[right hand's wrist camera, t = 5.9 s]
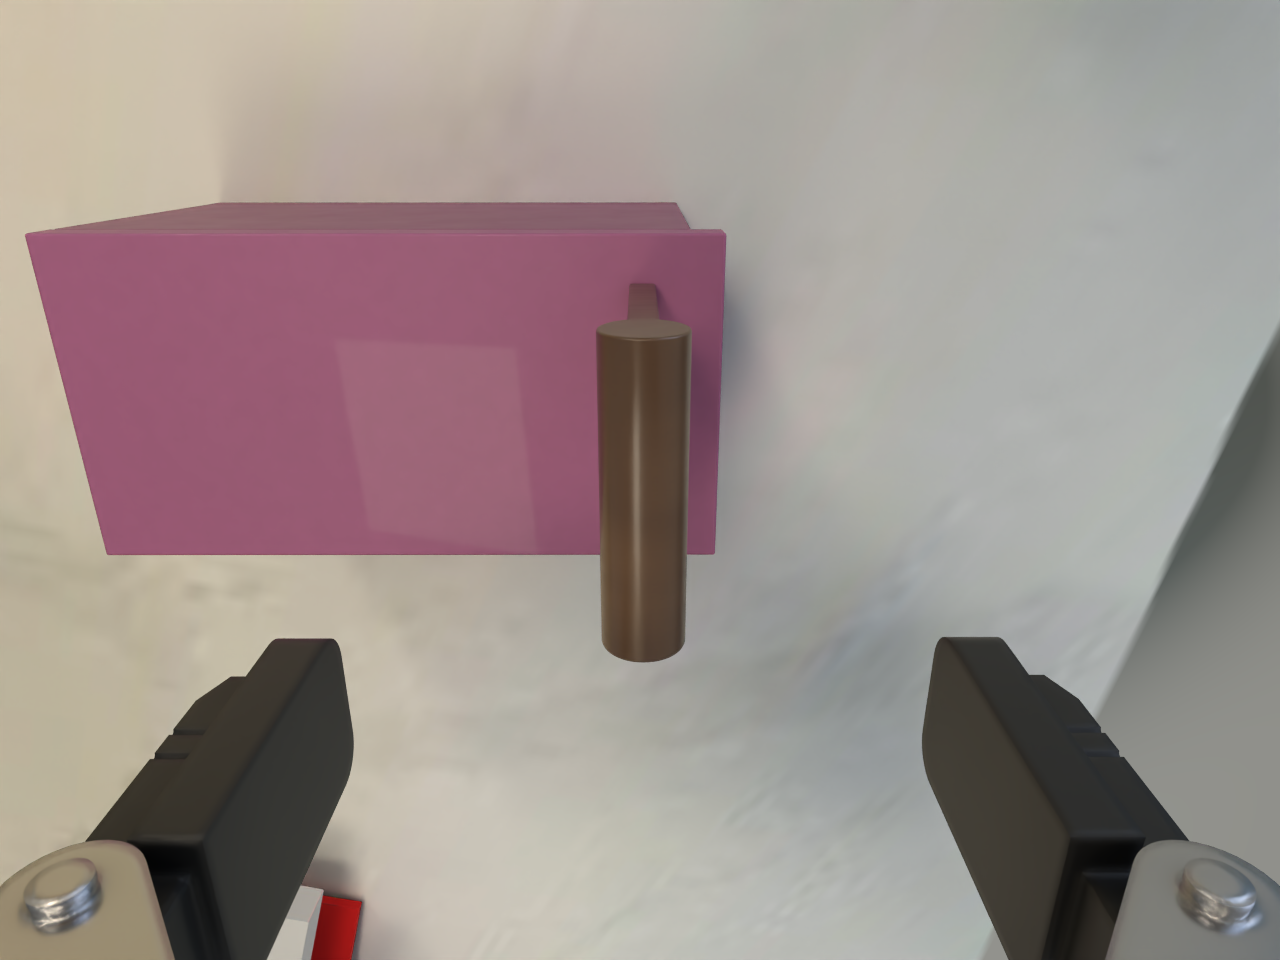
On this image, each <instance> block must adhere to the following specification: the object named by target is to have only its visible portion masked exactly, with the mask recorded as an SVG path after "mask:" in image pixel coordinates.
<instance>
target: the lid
mask: <svg viewBox="0 0 1280 960" xmlns="http://www.w3.org/2000/svg"><path fill="white" fill-rule="evenodd" d="M25 237H26V241H27V245H28V249H29V253H30V257H31V261H32V264H33V268H34V272H35V276H36V280H37V284H38V288H39V292H40V296H41V300H42V303H43V307H44V311H45V315H46V319H47V323H48V327H49V331H50V335H51V338H52V342H53V346H54V350H55V354H56V358H57V362H58V366H59V370H60V373H61V377H62V381H63V385H64V389H65V393H66V397H67V401H68V405H69V408H70V412H71V416H72V420H73V424H74V428H75V432H76V436H77V440H78V444H79V447H80V451H81V455H82V459H83V463H84V467H85V471H86V475H87V479H88V482H89V486H90V490H91V494H92V498H93V502H94V506H95V510H96V514H97V517H98V521H99V525H100V529H101V533H102V537H103V541H104V545H105V549H106V552H107V555H600V570H601V622H602V642H603V645H604V647H605V648H606V649H607V651H608V652H610V653H611V654H612V655H614V656H616V657H618V658H621V659H624V660H627V661H632V662H655V661H660V660H663V659H666V658H669V657H671V656H673V655H675V654H676V653H677V652H678V651H680V649H681V648H682V646H683V645H684V642H685V615H686V571H687V554H714V553H715V535H716V507H717V479H718V451H719V424H720V396H721V368H722V340H723V312H724V285H725V257H726V234H725V233H724V231H723V230H721V229H629V230H45V231H39V232H32V233H27V234H25Z"/></svg>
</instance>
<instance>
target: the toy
mask: <svg viewBox="0 0 1280 960" xmlns="http://www.w3.org/2000/svg"><path fill="white" fill-rule="evenodd" d="M323 892H324V890H323V889H318V888H313V887H307V886H302V885H300V888H299V890H298V892H297V894H296V896H295V899H294V901H293V903H292V905H291V907H290V910H289V912H288V914H287V916H286V919H285V921H284V923H283V925H282V927H281V930H280V932H279V934H278V936H277V938H276V941H275V943H274V945H273V947H272V949H271V952H270V954H269V956H268V958H267V960H351V958H352V953H353V947H354V942H355V936H356V931H357V926H358V920H359V915H360V909H361V904H362V902H360V901H354V900H348V899H341V898H335V897H329V896H323Z"/></svg>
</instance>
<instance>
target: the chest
mask: <svg viewBox="0 0 1280 960" xmlns="http://www.w3.org/2000/svg"><path fill="white" fill-rule="evenodd" d="M629 229H690V227H689V226H688V224H687V222H686V220H685V218H684V217H683V215H682V213H681V211H680V210H679V208H678V206H677V203H215V204H209V205H203V206H197V207H191V208H184V209H178V210H172V211H165V212H159V213H153V214H147V215H140V216H134V217H128V218H121V219H115V220H109V221H103V222H96V223H90V224H84V225H77V226H71V227H65V228H58V229H55V230H629Z"/></svg>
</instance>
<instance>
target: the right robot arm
mask: <svg viewBox="0 0 1280 960" xmlns="http://www.w3.org/2000/svg"><path fill="white" fill-rule="evenodd" d="M353 749H354V739H353V729H352V723H351V716H350V709H349V703H348V696H347V689H346V683H345V676H344V670H343V663H342V656H341V651H340V648H339V645H338V643H337V642H336V641H335V640H334V639H275V640H273V641H272V642H271V643H270V644H269V645H268V647H267V648H266V650H265V651H264V652H263V654H262V655H261V656H260V658H259V659H258V661H257V662H256V663H255V665H254V666H253V667H252V669H251V670H250V671H249V673H248V674H247V676H246V677H230V678H228V679H227V680H225V681H224V682H222V683H221V684H220V685H218V686H217V687H215V688H214V689H212V690H211V691H209V692H208V693H207V694H205V695H204V696H202V697H201V698H199V699H198V700H196V701H195V703H194V704H193V705H192V706H191V708H190V709H189V710H188V712H187V713H186V714H185V715H184V717H183V718H182V719H181V720H180V722H179V723H178V724H177V726H176V727H175V728H174V733H173V735H169V736H168V737H167V738H166V740H165V741H164V742H163V743H162V745H161V746H160V747H159V748H158V750H157V751H156V752H155V758H154V759H150V760H149V761H148V762H147V764H146V765H145V766H144V767H143V769H142V770H141V771H140V773H139V774H138V775H137V776H136V778H135V779H134V780H133V781H132V783H131V784H130V785H129V787H128V788H127V789H126V790H125V792H124V793H123V794H122V795H121V797H120V798H119V799H118V801H117V802H116V803H115V804H114V806H113V807H112V808H111V809H110V811H109V812H108V813H107V815H106V816H105V817H104V818H103V820H102V821H101V822H100V823H99V825H98V826H97V827H96V829H95V830H94V831H93V832H92V834H91V835H90V836H89V837H88V839H87V840H86V841H85V842H83V843H79V844H75V845H71V846H68V847H65V848H62V849H60V850H57V851H54V852H52V853H50V854H48V855H45V856H43V857H41V858H40V859H38V860H36V861H34V862H32V863H30V864H29V865H27V866H26V867H24V868H23V869H21V870H20V871H18V872H17V873H15V874H14V875H13V876H12V877H10V878H9V879H8V880H7V881H5V882H4V883H3V884H2V885H1V886H0V960H267V958H268V956H269V954H270V952H271V949H272V947H273V945H274V943H275V941H276V938H277V936H278V934H279V932H280V930H281V927H282V925H283V923H284V921H285V919H286V916H287V914H288V912H289V910H290V907H291V905H292V903H293V901H294V899H295V896H296V894H297V892H298V890H299V888H300V885H301V883H302V881H303V879H304V877H305V874H306V872H307V870H308V868H309V866H310V863H311V861H312V859H313V857H314V855H315V852H316V850H317V848H318V846H319V844H320V841H321V839H322V837H323V835H324V832H325V830H326V828H327V826H328V824H329V821H330V819H331V817H332V815H333V813H334V810H335V808H336V806H337V804H338V802H339V799H340V797H341V795H342V793H343V791H344V788H345V786H346V784H347V781H348V778H349V775H350V771H351V766H352V760H353ZM922 751H923V760H924V766H925V770H926V774H927V778H928V780H929V783H930V785H931V787H932V790H933V792H934V794H935V796H936V799H937V801H938V803H939V805H940V808H941V810H942V812H943V814H944V816H945V819H946V821H947V823H948V825H949V828H950V830H951V832H952V834H953V837H954V839H955V841H956V843H957V846H958V848H959V850H960V852H961V854H962V857H963V859H964V861H965V863H966V866H967V868H968V870H969V872H970V875H971V877H972V879H973V881H974V883H975V886H976V888H977V890H978V892H979V895H980V897H981V899H982V901H983V904H984V906H985V908H986V910H987V913H988V915H989V917H990V919H991V921H992V924H993V926H994V928H995V930H996V933H997V935H998V937H999V939H1000V942H1001V944H1002V946H1003V948H1004V950H1005V953H1006V955H1007V957H1008V959H1009V960H1280V886H1279V885H1278V884H1277V883H1276V882H1275V881H1273V880H1272V879H1271V878H1270V877H1268V876H1267V875H1266V874H1265V873H1263V872H1262V871H1260V870H1259V869H1257V868H1256V867H1254V866H1253V865H1251V864H1250V863H1248V862H1246V861H1244V860H1242V859H1240V858H1239V857H1237V856H1234V855H1232V854H1230V853H1228V852H1226V851H1223V850H1220V849H1218V848H1215V847H1212V846H1209V845H1205V844H1201V843H1197V842H1191V841H1189V840H1188V839H1187V837H1186V836H1185V835H1184V834H1183V832H1182V831H1181V830H1180V828H1179V827H1178V826H1177V825H1176V823H1175V822H1174V821H1173V819H1172V818H1171V817H1170V816H1169V814H1168V813H1167V812H1166V810H1165V809H1164V808H1163V807H1162V805H1161V804H1160V803H1159V801H1158V800H1157V799H1156V798H1155V796H1154V795H1153V794H1152V792H1151V791H1150V790H1149V789H1148V787H1147V786H1146V785H1145V783H1144V782H1143V781H1142V780H1141V778H1140V777H1139V776H1138V775H1137V773H1136V772H1135V771H1134V769H1133V768H1132V767H1131V766H1130V764H1129V763H1128V762H1127V760H1126V759H1125V758H1124V757H1120V756H1119V750H1118V749H1117V748H1116V746H1115V745H1114V744H1113V742H1112V741H1111V740H1110V739H1109V737H1108V736H1107V735H1106V733H1101V727H1100V726H1099V724H1098V723H1097V722H1096V721H1095V719H1094V718H1093V717H1092V715H1091V714H1090V713H1089V712H1088V710H1087V709H1086V708H1085V707H1084V705H1083V704H1082V703H1081V701H1080V700H1079V699H1078V698H1076V697H1075V696H1074V695H1072V694H1071V693H1069V692H1068V691H1066V690H1065V689H1063V688H1062V687H1061V686H1059V685H1058V684H1056V683H1055V682H1053V681H1052V680H1051V679H1049V678H1048V677H1046V676H1045V675H1029V674H1028V673H1027V672H1026V670H1025V669H1024V667H1023V666H1022V665H1021V663H1020V662H1019V660H1018V659H1017V658H1016V656H1015V655H1014V654H1013V652H1012V651H1011V649H1010V648H1009V647H1008V645H1007V644H1006V643H1005V641H1004V640H1003V639H1001V638H999V637H942V638H941V639H940V640H939V641H938V643H937V645H936V648H935V652H934V658H933V665H932V672H931V678H930V685H929V692H928V699H927V705H926V712H925V719H924V725H923V733H922Z"/></svg>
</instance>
